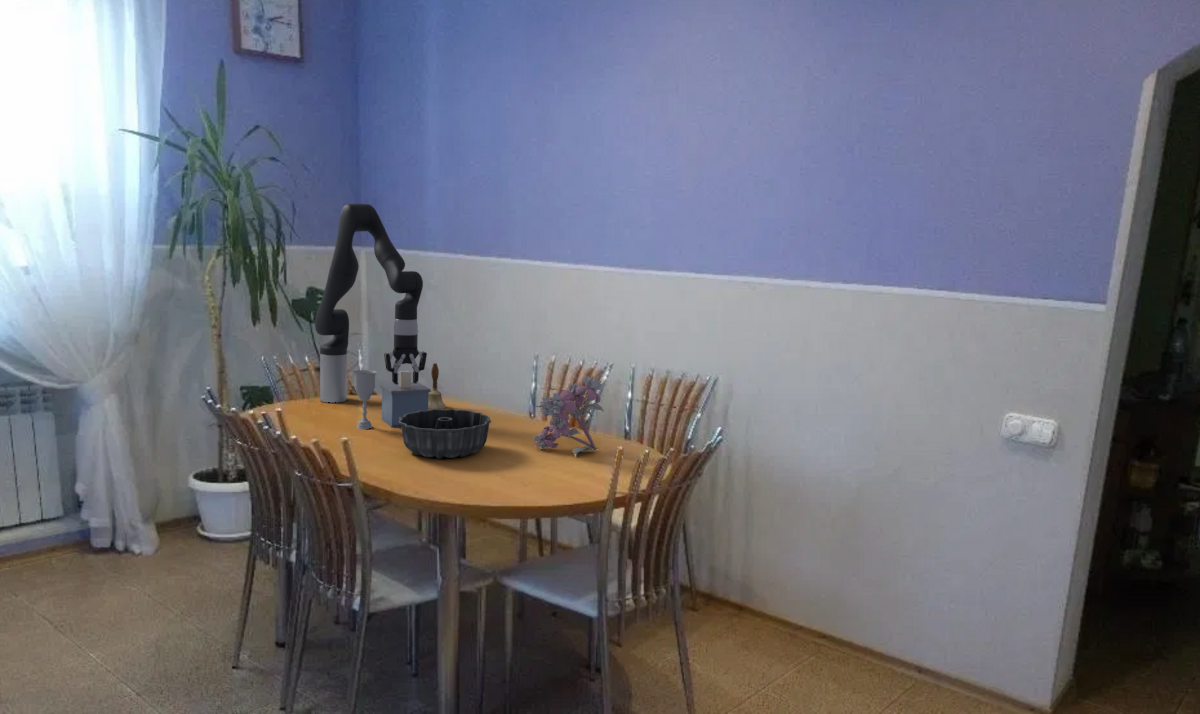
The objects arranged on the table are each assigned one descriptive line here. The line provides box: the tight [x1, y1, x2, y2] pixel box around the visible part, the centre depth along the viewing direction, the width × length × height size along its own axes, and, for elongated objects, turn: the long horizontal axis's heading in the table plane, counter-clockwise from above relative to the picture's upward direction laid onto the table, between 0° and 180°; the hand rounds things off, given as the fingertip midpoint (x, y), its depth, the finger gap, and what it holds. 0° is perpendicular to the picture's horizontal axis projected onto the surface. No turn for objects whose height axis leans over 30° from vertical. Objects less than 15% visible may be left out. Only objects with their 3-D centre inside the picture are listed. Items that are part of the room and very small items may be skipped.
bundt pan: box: [399, 408, 492, 460], centre depth 249 cm, size 26×26×10 cm
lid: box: [379, 370, 432, 394], centre depth 281 cm, size 13×13×7 cm
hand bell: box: [428, 363, 447, 410], centre depth 307 cm, size 8×8×16 cm
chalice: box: [352, 369, 377, 430], centre depth 272 cm, size 7×7×18 cm
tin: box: [381, 388, 429, 428], centre depth 282 cm, size 12×12×11 cm
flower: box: [531, 373, 605, 456], centre depth 254 cm, size 20×22×25 cm
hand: (405, 383), depth 281 cm, fingers open, 5 cm apart
